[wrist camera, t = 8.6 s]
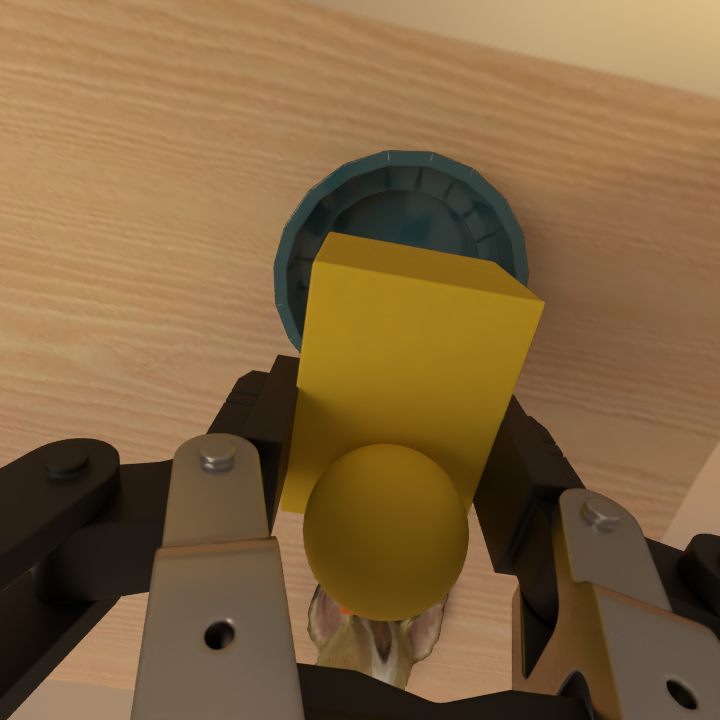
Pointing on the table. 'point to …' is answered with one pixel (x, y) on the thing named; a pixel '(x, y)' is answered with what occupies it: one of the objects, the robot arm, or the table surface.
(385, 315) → the duck
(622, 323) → the table surface
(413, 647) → the ceramic sculpture
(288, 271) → the bowl
